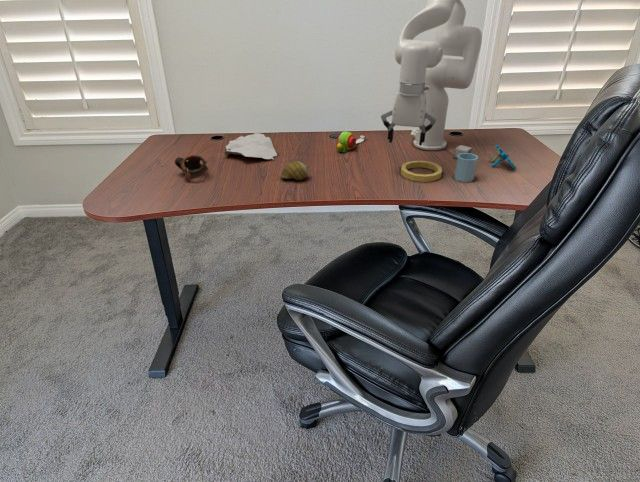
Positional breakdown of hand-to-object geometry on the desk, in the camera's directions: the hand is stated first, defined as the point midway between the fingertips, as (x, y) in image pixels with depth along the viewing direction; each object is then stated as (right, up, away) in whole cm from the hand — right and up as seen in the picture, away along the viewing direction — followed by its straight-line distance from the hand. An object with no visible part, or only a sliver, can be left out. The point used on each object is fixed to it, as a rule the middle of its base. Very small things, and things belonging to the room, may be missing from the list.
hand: (405, 142), depth 139 cm
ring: (+6, -9, +5) cm, 12 cm away
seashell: (-37, -11, +3) cm, 38 cm away
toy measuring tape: (-16, +5, +28) cm, 32 cm away
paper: (-55, +1, +23) cm, 59 cm away
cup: (+19, -11, +1) cm, 22 cm away
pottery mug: (-71, -10, +6) cm, 72 cm away
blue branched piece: (+35, -6, +9) cm, 37 cm away
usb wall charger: (+23, -2, +17) cm, 28 cm away
